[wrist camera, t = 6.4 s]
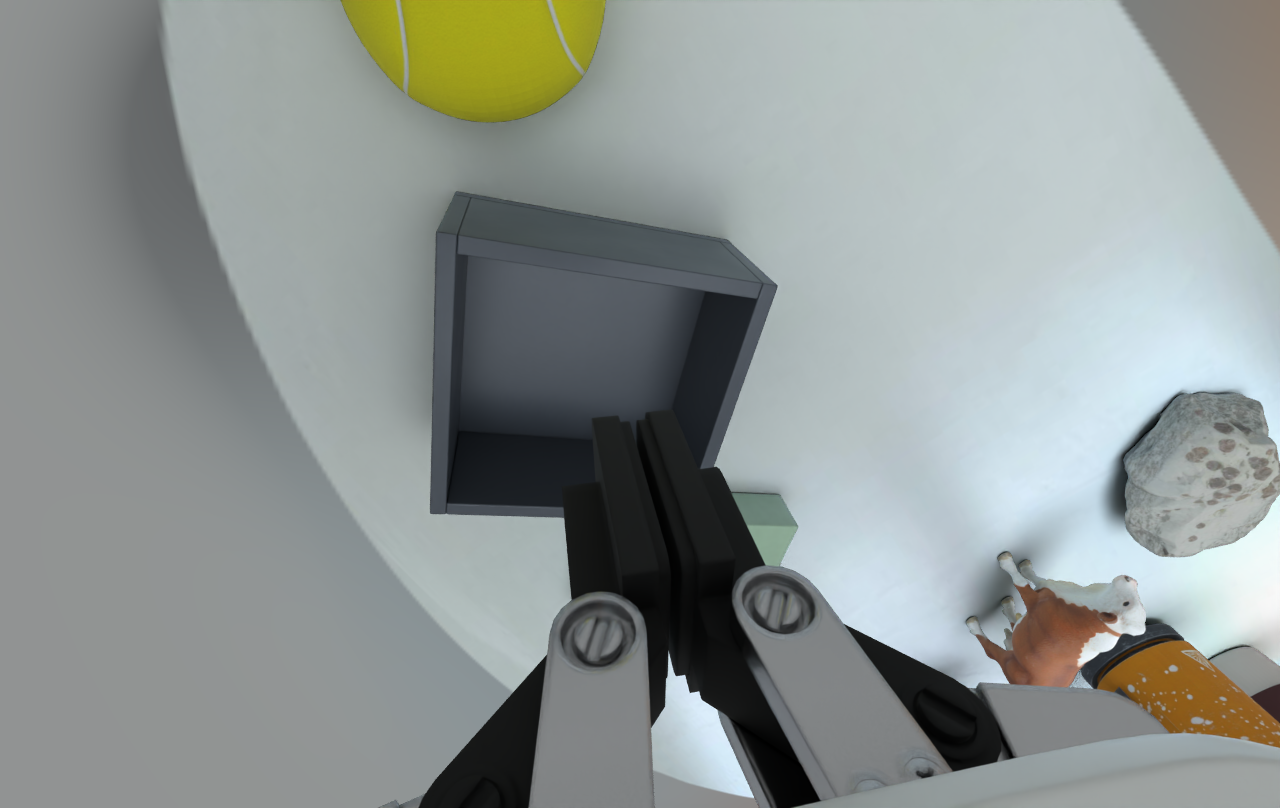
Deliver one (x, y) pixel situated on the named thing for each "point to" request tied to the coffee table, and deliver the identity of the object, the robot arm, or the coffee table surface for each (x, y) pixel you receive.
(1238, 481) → the decorative stone
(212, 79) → the coffee table surface
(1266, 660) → the coffee cup
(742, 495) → the push button base
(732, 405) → the bin
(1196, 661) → the canister
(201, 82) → the coffee table surface
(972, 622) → the bull figurine
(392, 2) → the tennis ball
